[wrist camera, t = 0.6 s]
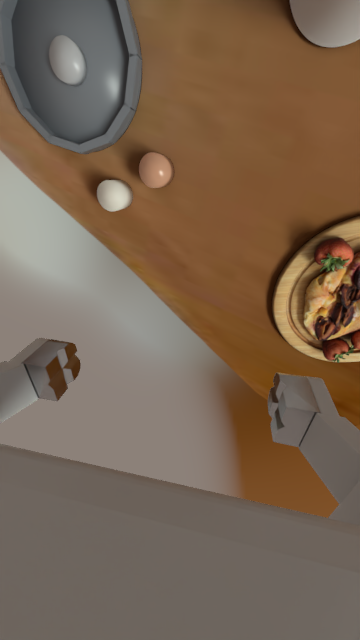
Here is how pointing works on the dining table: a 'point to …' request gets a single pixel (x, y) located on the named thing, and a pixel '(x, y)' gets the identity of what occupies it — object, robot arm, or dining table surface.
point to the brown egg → (156, 170)
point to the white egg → (114, 195)
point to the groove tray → (104, 69)
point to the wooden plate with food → (322, 295)
